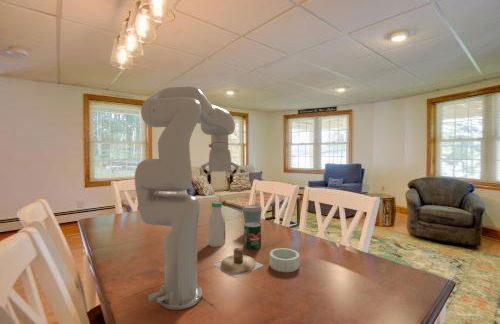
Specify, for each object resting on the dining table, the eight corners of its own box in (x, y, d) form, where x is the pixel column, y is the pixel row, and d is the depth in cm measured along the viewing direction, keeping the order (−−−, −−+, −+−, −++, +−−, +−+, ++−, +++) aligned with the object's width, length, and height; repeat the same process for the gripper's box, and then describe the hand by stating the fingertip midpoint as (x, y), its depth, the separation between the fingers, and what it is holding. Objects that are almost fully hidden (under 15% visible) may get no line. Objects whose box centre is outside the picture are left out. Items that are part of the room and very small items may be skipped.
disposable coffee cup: (239, 234, 134) (239, 206, 133) (246, 228, 144) (246, 202, 143) (258, 237, 130) (259, 208, 129) (264, 230, 140) (264, 204, 140)
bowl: (286, 276, 90) (286, 262, 90) (264, 266, 98) (264, 253, 98) (304, 266, 97) (304, 254, 97) (282, 257, 105) (282, 246, 105)
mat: (235, 279, 88) (235, 277, 88) (212, 265, 98) (212, 264, 98) (264, 266, 97) (264, 265, 97) (240, 255, 107) (240, 254, 107)
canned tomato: (252, 252, 111) (253, 227, 110) (240, 247, 116) (240, 224, 116) (264, 247, 117) (264, 223, 116) (252, 243, 122) (252, 220, 121)
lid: (236, 276, 88) (236, 260, 88) (214, 264, 98) (214, 249, 98) (262, 265, 97) (262, 250, 97) (240, 255, 107) (240, 241, 106)
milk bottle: (222, 248, 115) (222, 204, 114) (206, 247, 117) (206, 204, 116) (227, 242, 123) (227, 201, 122) (212, 241, 124) (211, 200, 123)
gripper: (199, 146, 112) (200, 184, 113) (238, 146, 113) (238, 184, 114) (202, 146, 120) (202, 182, 121) (239, 146, 120) (239, 182, 121)
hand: (220, 183), depth 117 cm, fingers open, 9 cm apart
